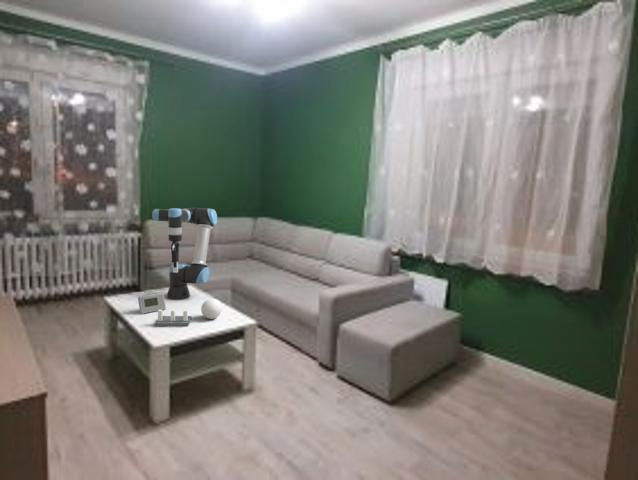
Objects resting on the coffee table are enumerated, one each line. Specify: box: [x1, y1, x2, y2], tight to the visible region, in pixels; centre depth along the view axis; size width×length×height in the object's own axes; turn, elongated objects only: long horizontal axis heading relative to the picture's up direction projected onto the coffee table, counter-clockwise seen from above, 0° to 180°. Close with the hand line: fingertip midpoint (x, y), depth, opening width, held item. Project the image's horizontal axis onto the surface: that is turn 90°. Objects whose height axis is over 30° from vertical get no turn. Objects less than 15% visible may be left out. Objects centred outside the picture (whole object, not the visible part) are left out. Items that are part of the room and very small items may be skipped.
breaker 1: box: [157, 310, 164, 321], centre depth 239 cm, size 2×2×6 cm
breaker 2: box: [182, 309, 189, 321], centre depth 241 cm, size 2×2×6 cm
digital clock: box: [137, 292, 167, 315], centre depth 260 cm, size 16×9×11 cm, turn 122°
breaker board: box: [154, 315, 192, 328], centre depth 243 cm, size 12×18×2 cm, turn 98°
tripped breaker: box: [170, 309, 176, 321], centre depth 240 cm, size 2×2×6 cm
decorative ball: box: [200, 298, 223, 320], centre depth 252 cm, size 12×12×12 cm
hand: (175, 272), depth 254 cm, fingers closed
